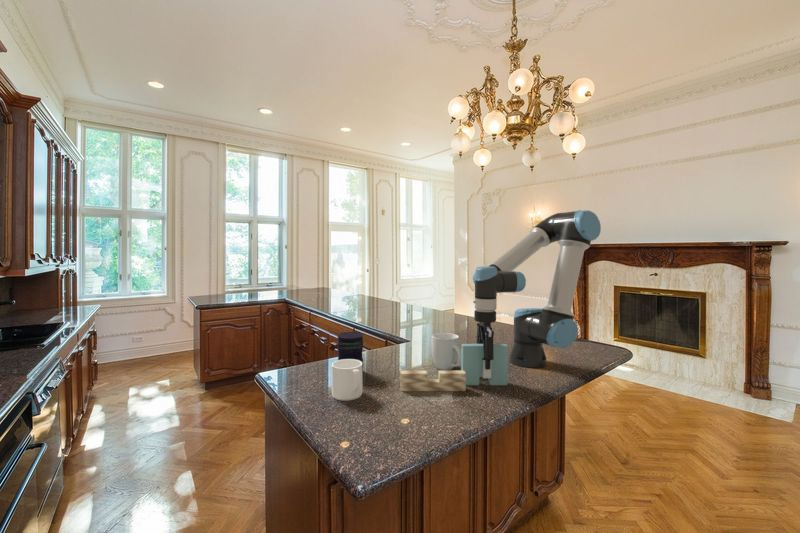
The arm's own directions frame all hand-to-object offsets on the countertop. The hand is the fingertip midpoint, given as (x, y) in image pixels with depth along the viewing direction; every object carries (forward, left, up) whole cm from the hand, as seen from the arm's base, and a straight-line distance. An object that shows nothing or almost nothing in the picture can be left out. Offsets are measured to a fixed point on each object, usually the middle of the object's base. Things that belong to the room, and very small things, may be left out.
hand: (484, 374), depth 126 cm
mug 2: (+11, -16, -4) cm, 20 cm away
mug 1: (+47, +10, -4) cm, 48 cm away
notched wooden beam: (+19, +5, -3) cm, 20 cm away
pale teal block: (0, 0, -3) cm, 3 cm away
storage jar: (+49, -11, -4) cm, 50 cm away
